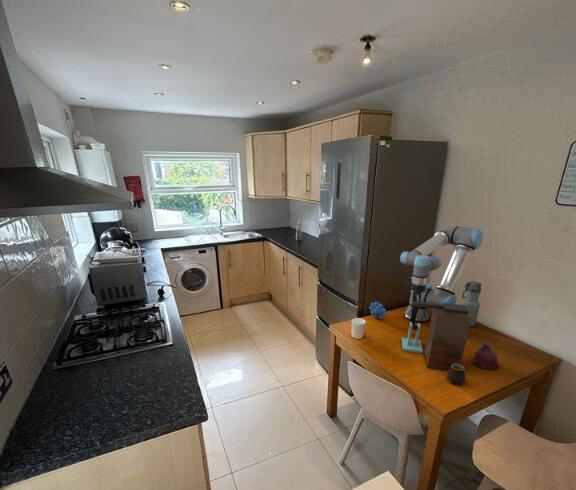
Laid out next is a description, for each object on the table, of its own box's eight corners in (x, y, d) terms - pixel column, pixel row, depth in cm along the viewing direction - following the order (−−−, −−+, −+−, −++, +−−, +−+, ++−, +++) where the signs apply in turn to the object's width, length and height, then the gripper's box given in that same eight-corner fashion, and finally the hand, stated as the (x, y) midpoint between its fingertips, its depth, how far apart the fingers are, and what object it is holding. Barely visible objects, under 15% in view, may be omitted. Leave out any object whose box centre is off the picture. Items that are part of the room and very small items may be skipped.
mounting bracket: (401, 339, 175) (404, 318, 170) (420, 342, 172) (423, 320, 167) (402, 350, 164) (406, 328, 159) (422, 353, 161) (426, 330, 156)
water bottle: (454, 321, 197) (462, 281, 188) (464, 318, 201) (473, 279, 191) (468, 328, 189) (478, 286, 179) (478, 325, 192) (488, 283, 183)
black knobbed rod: (408, 327, 178) (408, 321, 178) (414, 328, 177) (415, 321, 177) (411, 330, 163) (411, 323, 163) (418, 331, 162) (418, 324, 162)
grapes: (365, 318, 201) (367, 302, 197) (369, 315, 206) (371, 298, 202) (382, 323, 195) (384, 306, 190) (386, 319, 200) (388, 303, 195)
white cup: (358, 340, 174) (359, 325, 170) (347, 335, 179) (349, 320, 176) (366, 336, 178) (368, 321, 175) (356, 331, 184) (357, 316, 181)
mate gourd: (456, 375, 143) (460, 357, 140) (468, 386, 136) (472, 367, 133) (442, 377, 142) (446, 359, 139) (453, 387, 135) (457, 369, 132)
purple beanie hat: (483, 376, 148) (488, 354, 140) (467, 362, 157) (470, 340, 149) (501, 368, 149) (506, 346, 142) (484, 355, 158) (488, 333, 151)
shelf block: (424, 354, 160) (434, 303, 150) (453, 359, 156) (465, 306, 146) (427, 367, 149) (437, 312, 139) (458, 372, 145) (471, 316, 135)
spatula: (412, 302, 150) (413, 299, 150) (464, 308, 144) (465, 305, 143) (414, 308, 144) (414, 304, 143) (468, 314, 138) (468, 310, 137)
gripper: (410, 279, 173) (404, 316, 181) (412, 286, 161) (406, 326, 169) (424, 280, 171) (418, 318, 179) (427, 288, 159) (420, 328, 167)
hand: (412, 322), depth 174 cm, fingers closed
